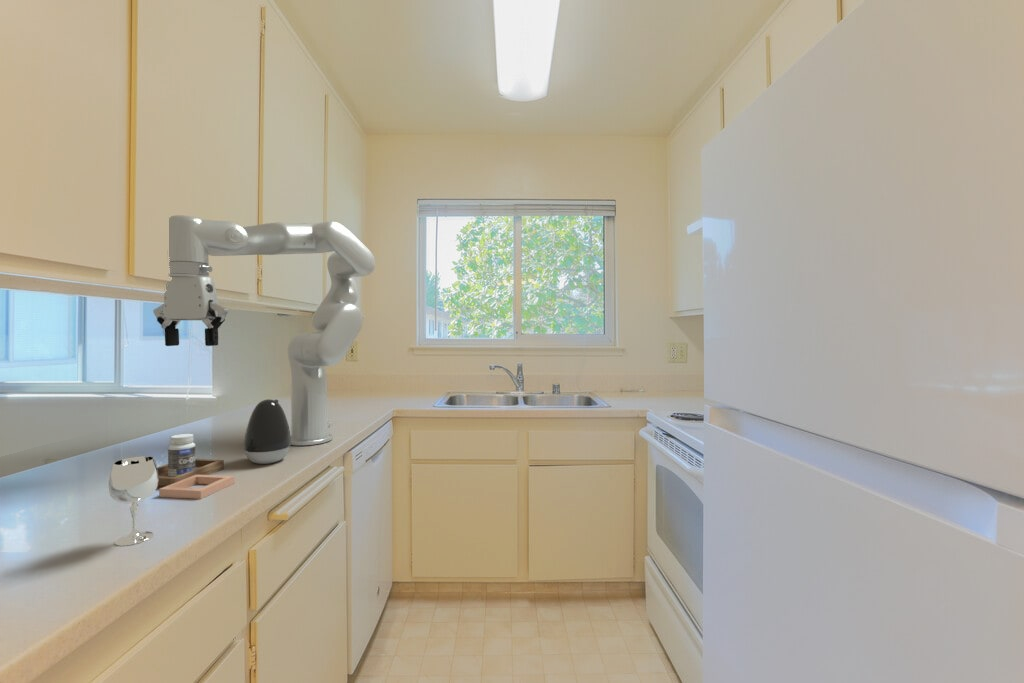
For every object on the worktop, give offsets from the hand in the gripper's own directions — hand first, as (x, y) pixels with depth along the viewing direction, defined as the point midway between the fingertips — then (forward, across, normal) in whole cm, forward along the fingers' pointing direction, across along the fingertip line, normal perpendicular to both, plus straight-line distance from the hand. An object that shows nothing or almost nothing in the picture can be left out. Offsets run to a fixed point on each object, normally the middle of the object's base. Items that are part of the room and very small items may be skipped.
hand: (192, 345), depth 101 cm
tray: (+28, -2, +8) cm, 29 cm away
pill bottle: (+28, -3, +7) cm, 29 cm away
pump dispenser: (+29, -14, -6) cm, 33 cm away
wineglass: (+28, -19, +34) cm, 48 cm away
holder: (+28, -12, +14) cm, 34 cm away
